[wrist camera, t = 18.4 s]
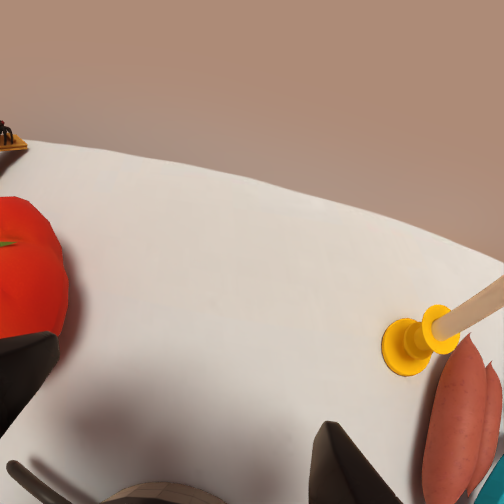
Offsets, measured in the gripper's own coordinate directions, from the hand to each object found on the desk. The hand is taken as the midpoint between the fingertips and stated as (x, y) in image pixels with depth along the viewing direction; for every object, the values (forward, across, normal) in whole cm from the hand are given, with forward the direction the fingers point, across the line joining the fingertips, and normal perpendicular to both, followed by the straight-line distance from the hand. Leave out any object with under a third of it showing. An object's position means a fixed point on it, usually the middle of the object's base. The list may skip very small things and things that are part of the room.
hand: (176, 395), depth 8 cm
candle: (+15, -15, +4) cm, 22 cm away
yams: (+10, -22, +9) cm, 26 cm away
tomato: (+11, +19, +8) cm, 23 cm away
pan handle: (0, +9, +16) cm, 18 cm away
